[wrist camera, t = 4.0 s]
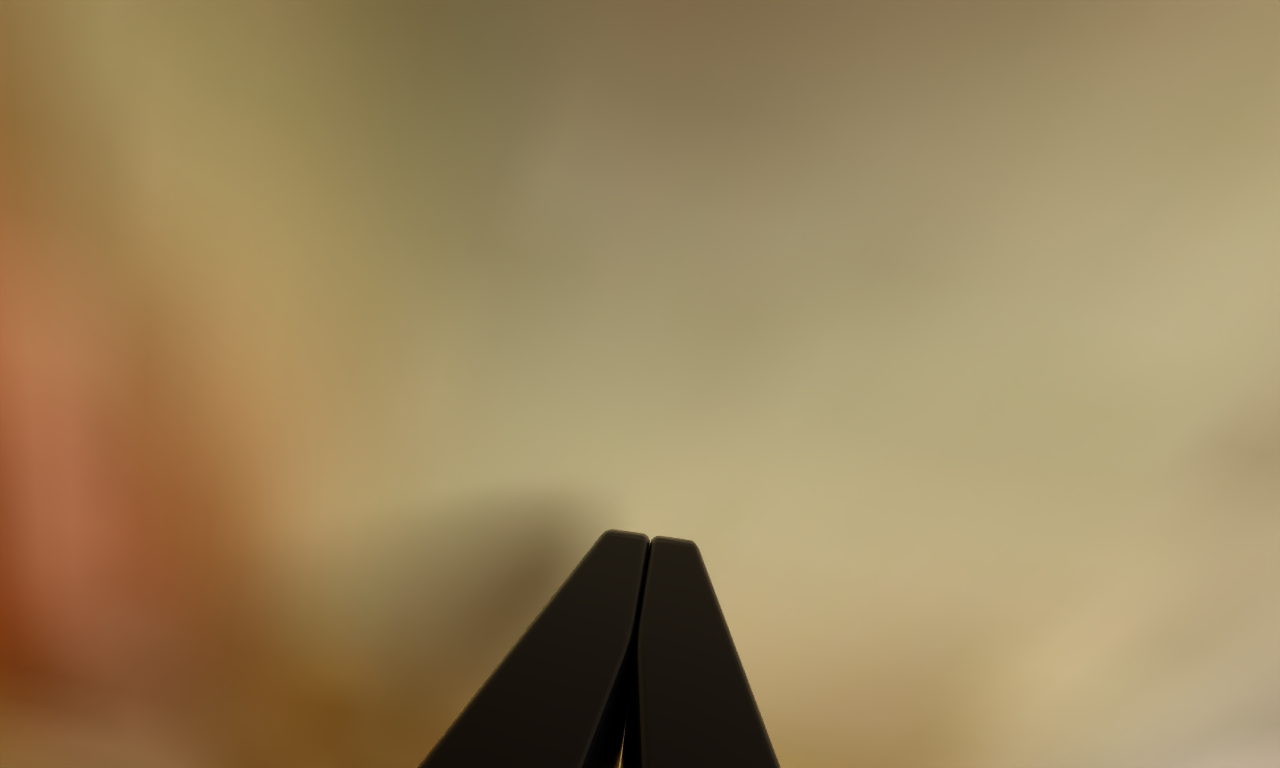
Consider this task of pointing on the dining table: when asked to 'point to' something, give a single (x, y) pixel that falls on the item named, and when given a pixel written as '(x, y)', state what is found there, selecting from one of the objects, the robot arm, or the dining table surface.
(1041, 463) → the dining table surface
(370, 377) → the dining table surface
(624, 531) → the robot arm
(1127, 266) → the dining table surface
